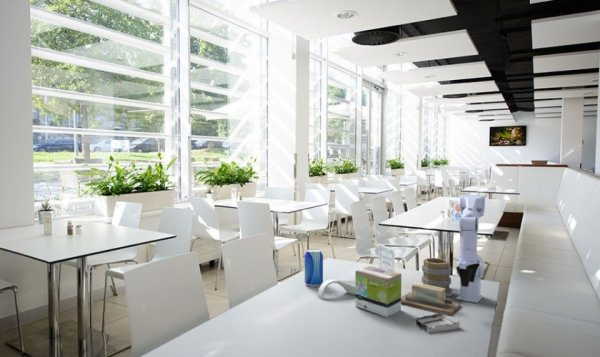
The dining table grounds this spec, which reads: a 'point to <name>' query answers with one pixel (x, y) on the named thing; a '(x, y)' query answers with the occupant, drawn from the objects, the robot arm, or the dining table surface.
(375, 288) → the tea box
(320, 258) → the beer can
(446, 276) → the tankard
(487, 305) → the dining table surface
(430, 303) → the walnut ledge
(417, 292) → the pale wooden bar
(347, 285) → the white curved piece
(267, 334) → the dining table surface
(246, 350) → the dining table surface
